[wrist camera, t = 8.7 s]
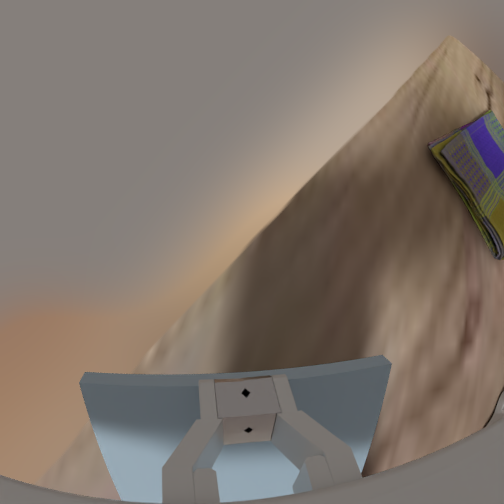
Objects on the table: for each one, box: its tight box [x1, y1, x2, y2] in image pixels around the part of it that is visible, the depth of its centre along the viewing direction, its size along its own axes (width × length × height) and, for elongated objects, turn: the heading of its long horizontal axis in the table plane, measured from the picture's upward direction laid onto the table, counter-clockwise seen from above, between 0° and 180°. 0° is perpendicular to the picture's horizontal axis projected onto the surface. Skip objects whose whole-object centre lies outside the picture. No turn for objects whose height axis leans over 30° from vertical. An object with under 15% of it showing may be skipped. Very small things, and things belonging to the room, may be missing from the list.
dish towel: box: [428, 110, 504, 260], centre depth 35 cm, size 18×24×3 cm
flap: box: [79, 355, 392, 503], centre depth 12 cm, size 12×1×12 cm
